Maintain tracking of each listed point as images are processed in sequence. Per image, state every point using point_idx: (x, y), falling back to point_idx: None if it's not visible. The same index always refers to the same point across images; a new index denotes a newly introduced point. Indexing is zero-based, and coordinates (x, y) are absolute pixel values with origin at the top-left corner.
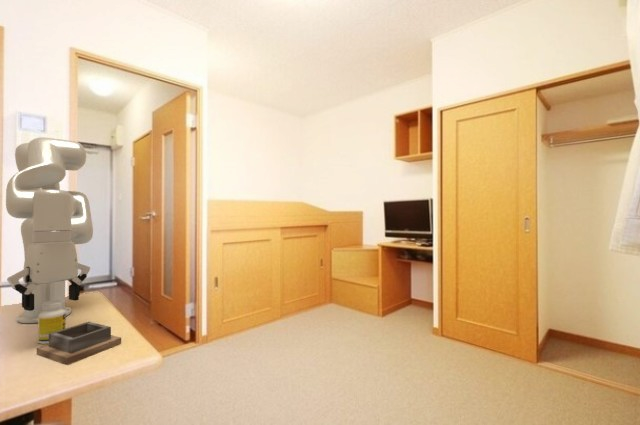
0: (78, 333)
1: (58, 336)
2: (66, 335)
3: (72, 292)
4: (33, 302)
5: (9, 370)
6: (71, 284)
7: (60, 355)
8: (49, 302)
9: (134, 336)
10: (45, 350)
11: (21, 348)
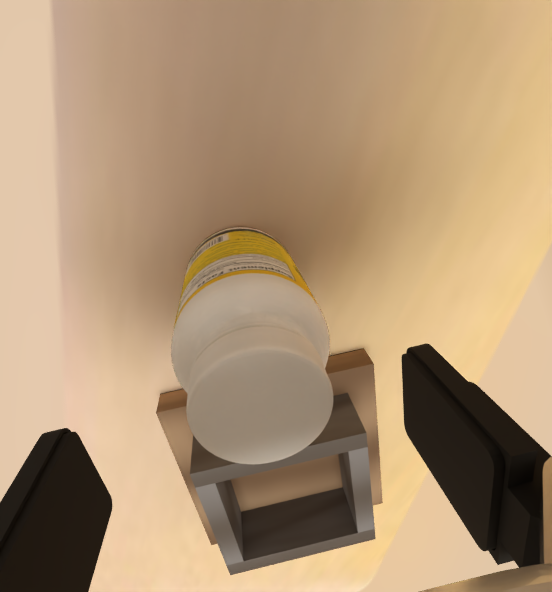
0: None
1: (210, 523)
2: None
3: (440, 452)
4: (88, 573)
5: None
6: (514, 500)
7: (202, 519)
8: (243, 399)
9: None
10: (176, 457)
11: (121, 282)
